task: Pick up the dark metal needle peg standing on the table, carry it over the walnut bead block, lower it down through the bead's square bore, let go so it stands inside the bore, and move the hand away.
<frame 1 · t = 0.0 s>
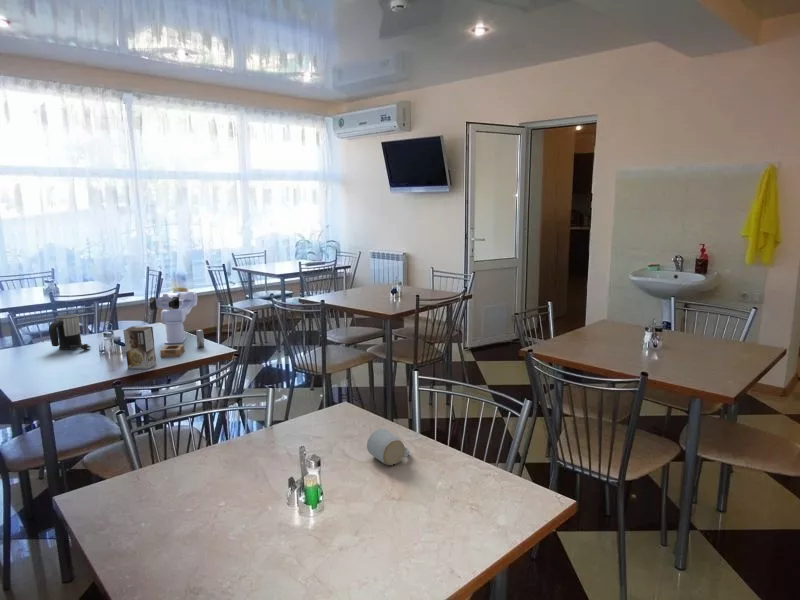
hand: (160, 304, 230), 22 cm above the table, tool horizontal, fingers open, 7 cm apart
needle peg: (200, 347, 244), on the table
ceramic mug: (390, 459, 141), on the table
coffee box: (142, 366, 217), on the table
bead block: (172, 353, 233), on the table
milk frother: (75, 348, 242), on the table
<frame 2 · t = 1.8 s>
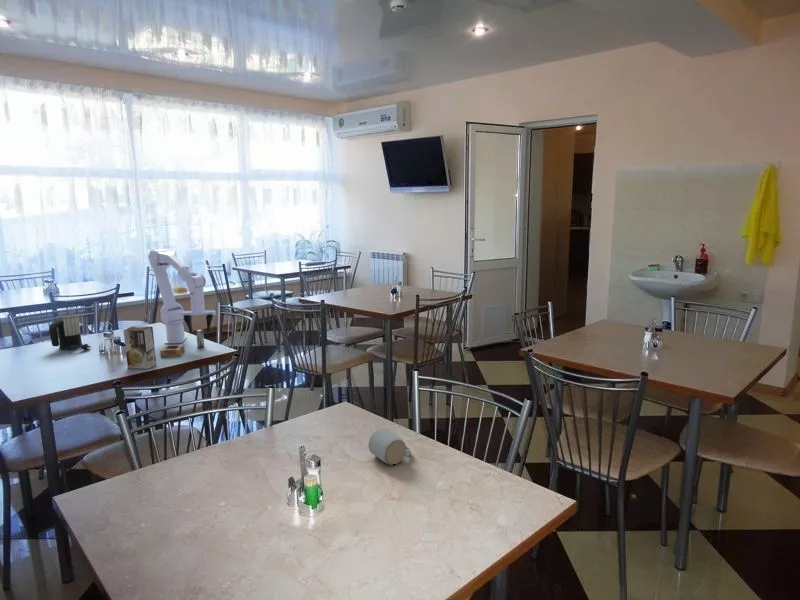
hand: (199, 331, 242), 8 cm above the table, tool pointing down, fingers open, 7 cm apart
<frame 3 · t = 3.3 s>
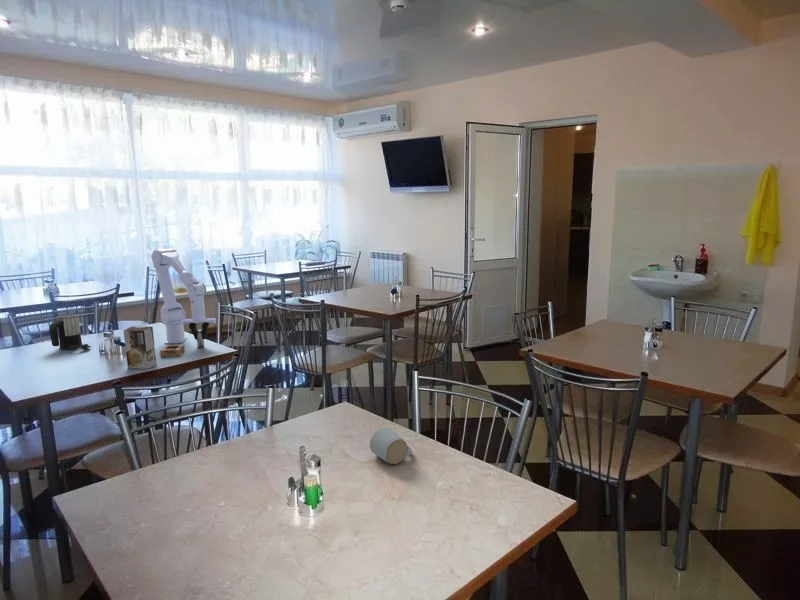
hand: (200, 339, 243), 4 cm above the table, tool pointing down, fingers closed on needle peg, 3 cm apart
needle peg: (200, 347, 244), on the table, touching gripper
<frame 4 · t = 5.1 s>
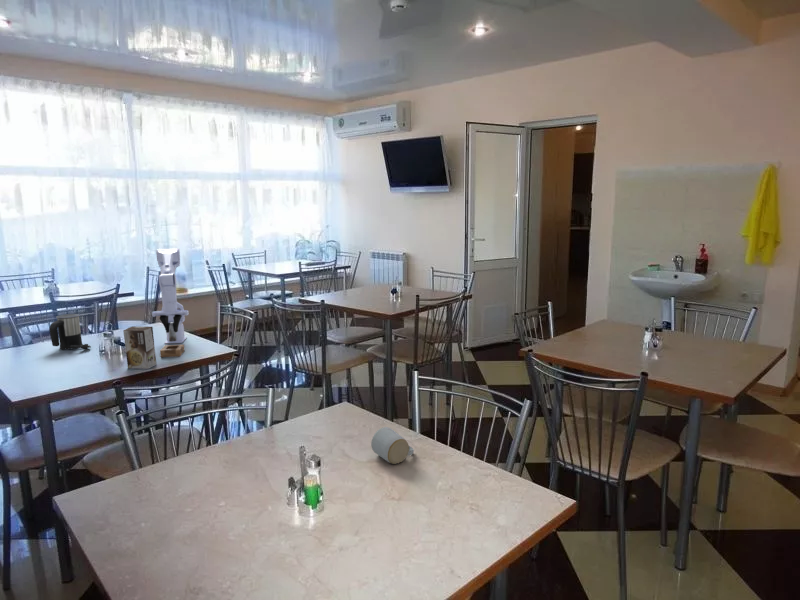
hand: (172, 331, 232), 10 cm above the table, tool pointing down, fingers closed on needle peg, 3 cm apart
needle peg: (172, 340, 232), point 6 cm above the table, touching gripper
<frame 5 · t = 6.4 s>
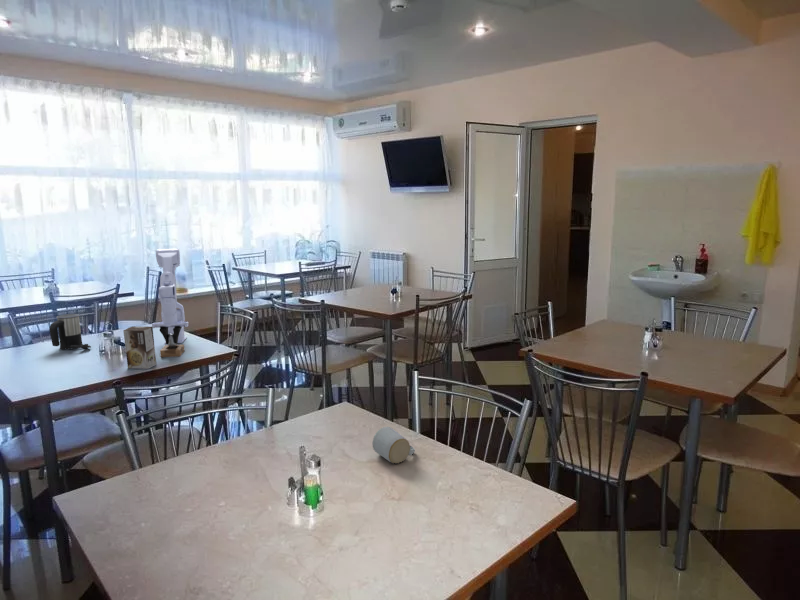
hand: (171, 343, 232), 5 cm above the table, tool pointing down, fingers closed on needle peg, 3 cm apart
needle peg: (172, 351, 233), point 1 cm above the table, touching gripper
when the fingers open (5 cm above the table, at t = 7.1 s): needle peg stays where it is, resting in bead block.
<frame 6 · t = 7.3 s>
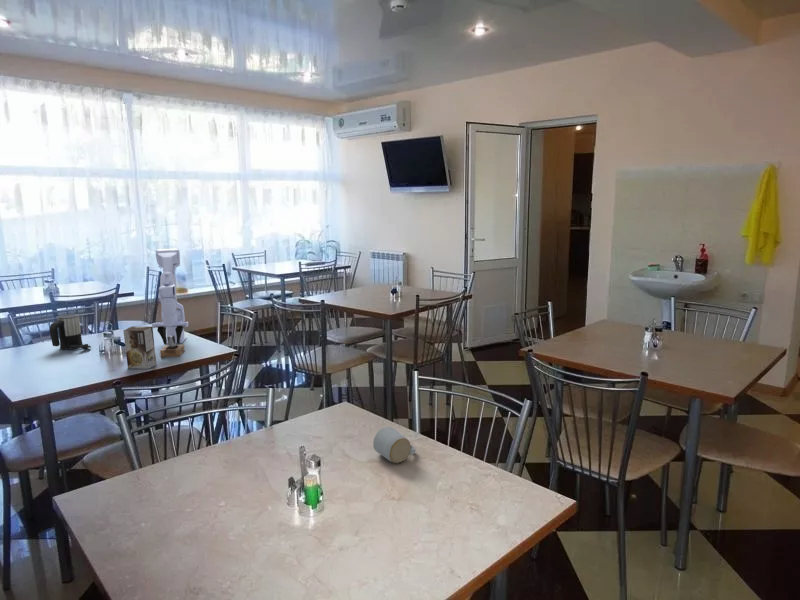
hand: (171, 343, 232), 5 cm above the table, tool pointing down, fingers open, 5 cm apart
needle peg: (172, 353, 233), resting in bead block
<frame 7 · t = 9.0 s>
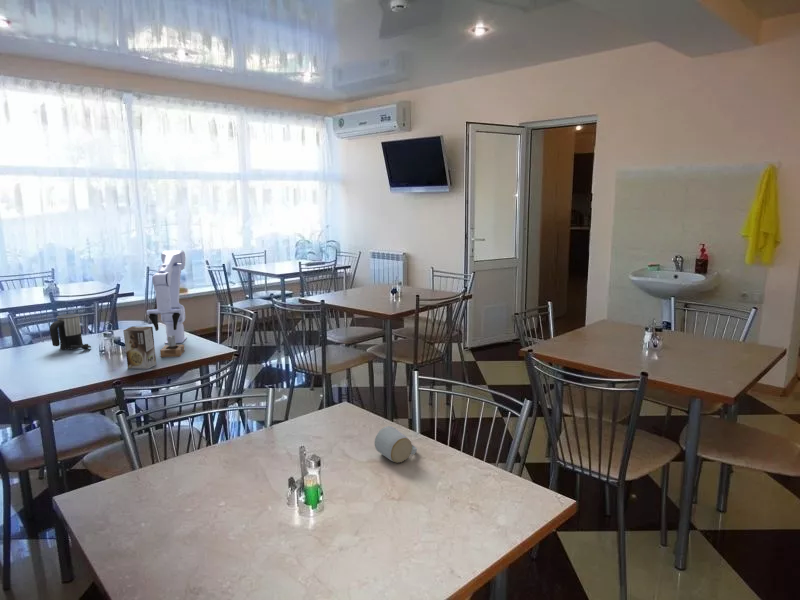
hand: (166, 329, 237), 9 cm above the table, tool pointing down, fingers open, 7 cm apart
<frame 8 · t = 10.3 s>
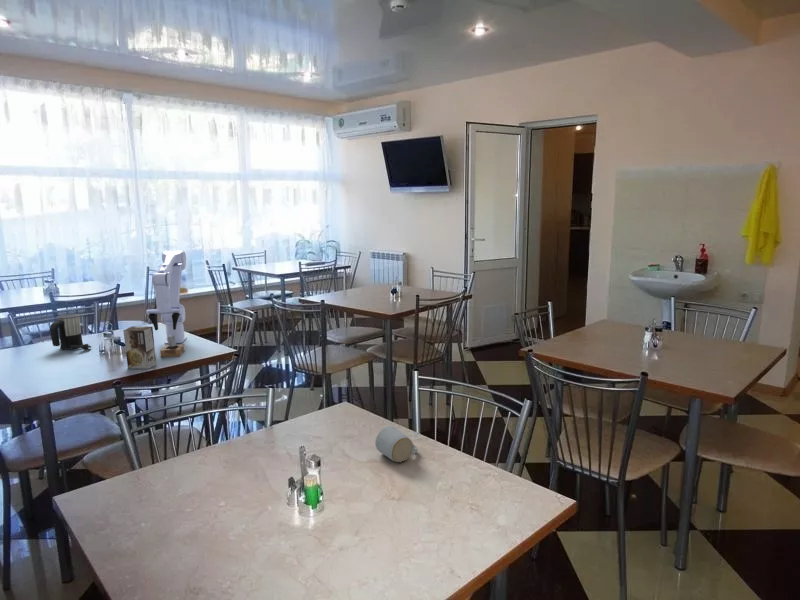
hand: (165, 329, 238), 9 cm above the table, tool pointing down, fingers open, 7 cm apart
at the end: needle peg 0.1 cm from the bead block (horizontally); needle peg resting in bead block; the gripper is holding nothing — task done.
